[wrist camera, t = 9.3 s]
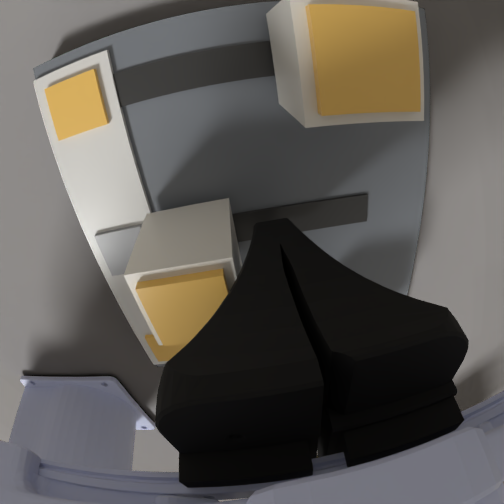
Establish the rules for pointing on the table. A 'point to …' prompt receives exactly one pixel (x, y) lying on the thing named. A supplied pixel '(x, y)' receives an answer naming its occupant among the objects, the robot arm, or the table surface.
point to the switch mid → (183, 268)
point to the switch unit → (224, 149)
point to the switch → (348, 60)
